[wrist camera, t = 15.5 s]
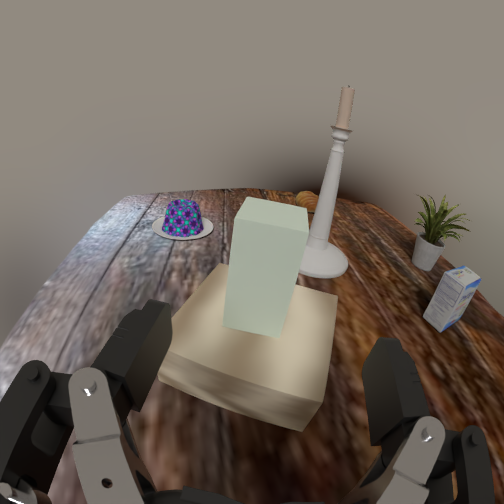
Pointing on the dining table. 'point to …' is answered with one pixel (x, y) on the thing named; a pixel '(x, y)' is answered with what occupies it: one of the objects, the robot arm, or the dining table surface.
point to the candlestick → (329, 204)
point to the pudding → (182, 221)
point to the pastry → (307, 200)
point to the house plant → (433, 235)
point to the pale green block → (264, 265)
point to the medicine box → (451, 297)
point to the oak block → (253, 356)
